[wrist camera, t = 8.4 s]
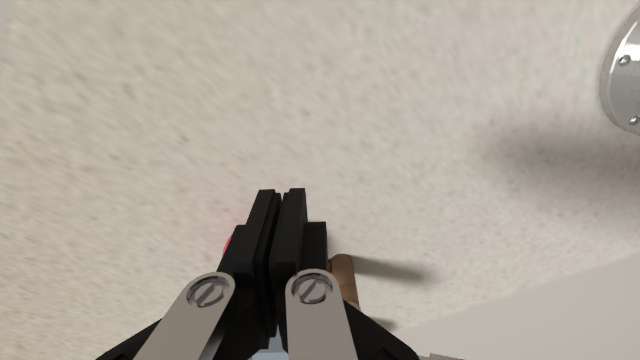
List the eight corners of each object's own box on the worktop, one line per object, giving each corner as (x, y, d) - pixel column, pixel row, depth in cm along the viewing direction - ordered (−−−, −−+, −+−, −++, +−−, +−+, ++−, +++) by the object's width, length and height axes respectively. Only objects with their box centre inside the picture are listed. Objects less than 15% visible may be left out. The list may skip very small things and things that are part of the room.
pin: (352, 253, 33) (364, 321, 26) (352, 271, 34) (363, 341, 27) (329, 253, 33) (333, 322, 26) (329, 271, 34) (334, 342, 27)
